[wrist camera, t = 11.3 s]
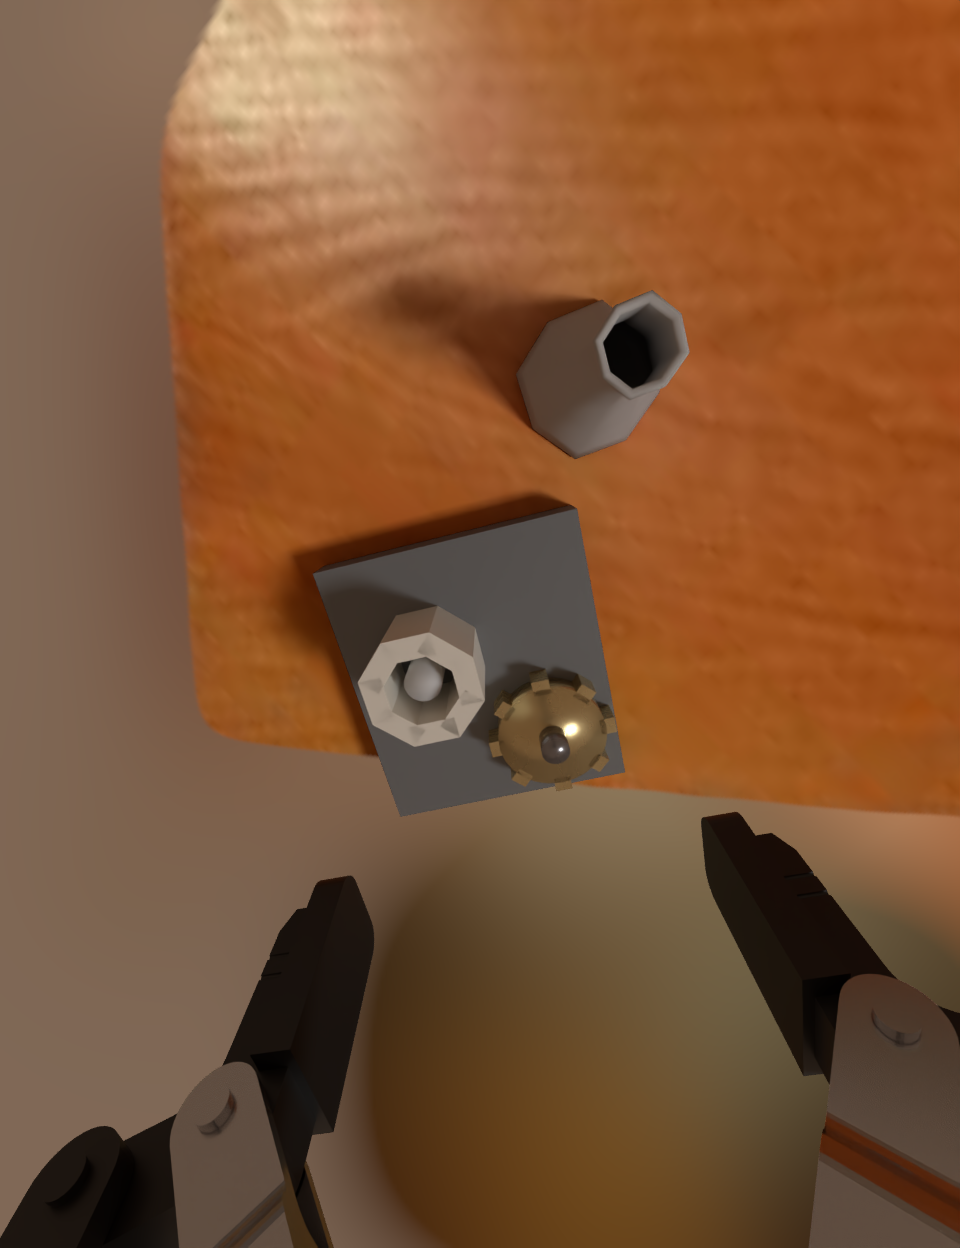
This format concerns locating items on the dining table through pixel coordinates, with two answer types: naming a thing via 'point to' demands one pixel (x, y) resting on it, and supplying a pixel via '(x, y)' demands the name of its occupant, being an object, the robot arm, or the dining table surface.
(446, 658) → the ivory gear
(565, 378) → the flask
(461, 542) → the board
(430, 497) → the dining table surface
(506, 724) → the brass gear
